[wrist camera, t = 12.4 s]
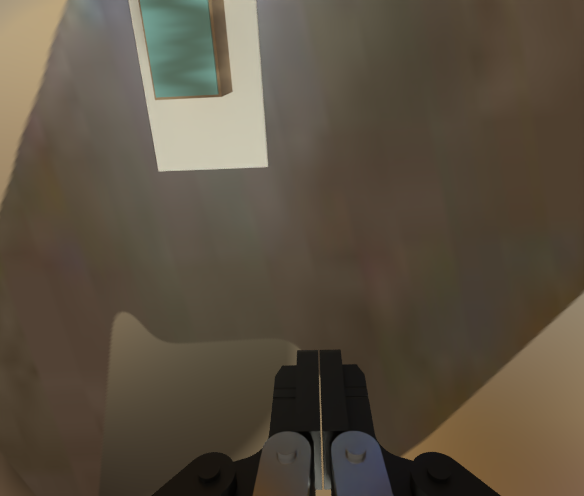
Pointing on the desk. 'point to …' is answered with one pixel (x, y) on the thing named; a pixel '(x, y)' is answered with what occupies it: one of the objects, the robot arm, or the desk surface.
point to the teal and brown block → (187, 48)
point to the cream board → (212, 105)
